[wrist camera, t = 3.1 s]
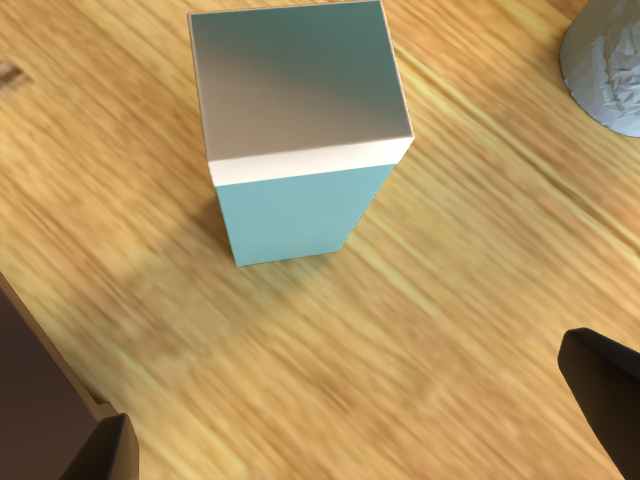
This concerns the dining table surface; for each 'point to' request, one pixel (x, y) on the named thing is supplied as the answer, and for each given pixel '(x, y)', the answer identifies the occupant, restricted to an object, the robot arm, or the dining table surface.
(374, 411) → the dining table surface
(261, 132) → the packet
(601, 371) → the robot arm
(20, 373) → the stand
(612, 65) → the grey embossed cup
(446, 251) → the dining table surface
